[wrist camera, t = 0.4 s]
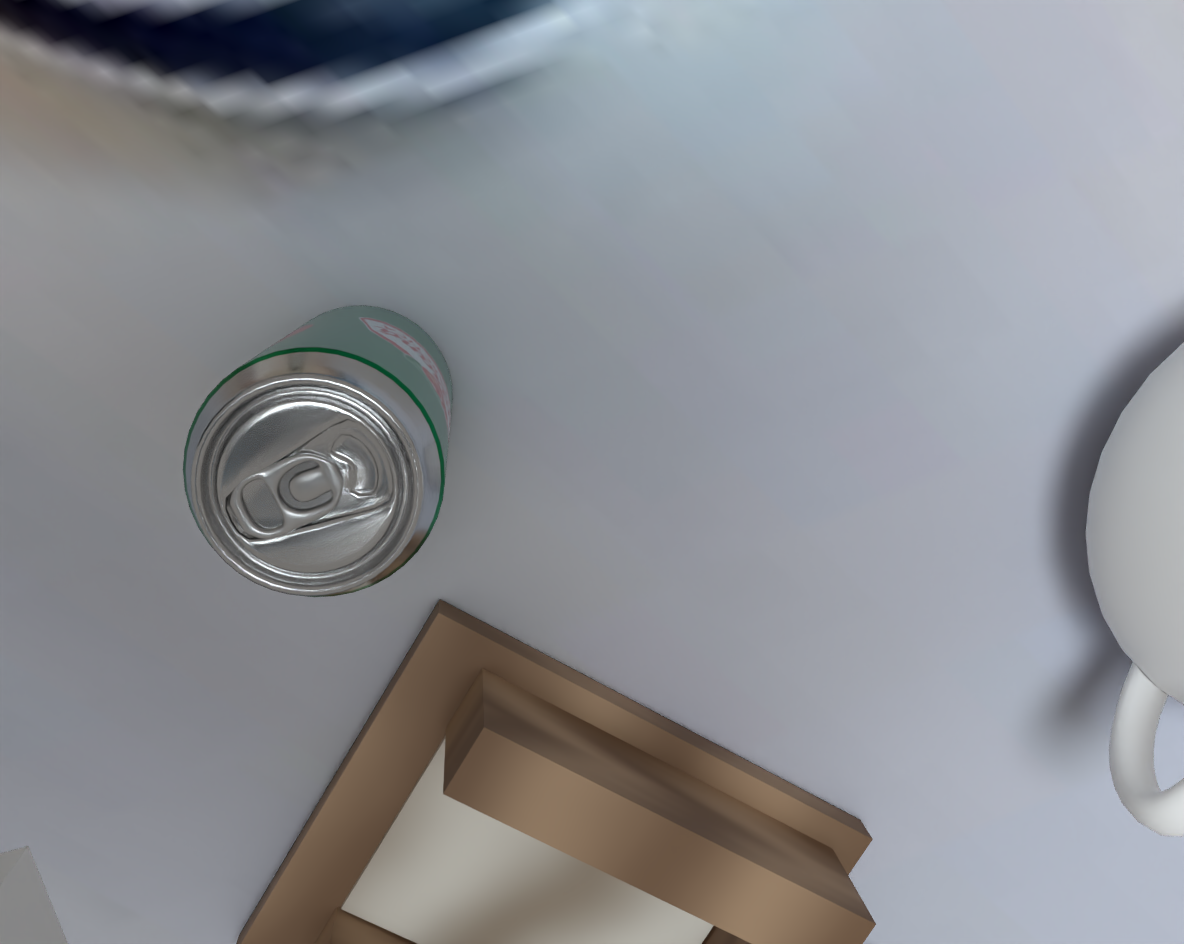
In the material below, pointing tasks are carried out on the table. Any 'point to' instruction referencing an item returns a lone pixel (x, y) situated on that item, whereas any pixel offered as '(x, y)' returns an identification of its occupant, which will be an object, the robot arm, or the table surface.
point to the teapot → (1143, 581)
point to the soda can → (324, 454)
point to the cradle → (552, 821)
